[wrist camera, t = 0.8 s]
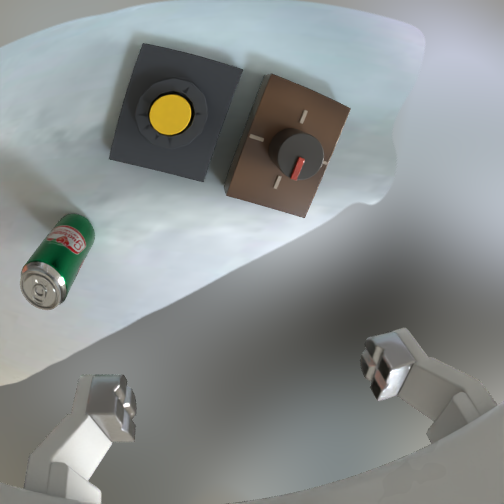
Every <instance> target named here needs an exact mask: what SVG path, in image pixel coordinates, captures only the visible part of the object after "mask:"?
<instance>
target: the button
mask: <svg viewBox="0 0 504 504" xmlns="http://www.w3.org/2000/svg"><path fill="white" fill-rule="evenodd" d="M149 117H150V122H151V124H152V126H153V128H154V129H155V130H156V131H158V132H160V133H162V134H165V135H173V134H177V133H179V132H181V131H182V130H183V129H185V128H186V126H187V125H188V123H189V121H190V118H191V107H190V105H189V103H188V102H187V100H186V99H185V98H183V97H181V96H179V95H174V94H171V95H165V96H162V97H160V98H159V99H158V100H156V101H155V102H154V104H153V105H152V107H151V109H150V115H149Z"/></svg>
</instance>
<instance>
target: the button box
mask: <svg viewBox="0 0 504 504" xmlns="http://www.w3.org/2000/svg"><path fill="white" fill-rule="evenodd" d="M242 71H243V69H240V68H237V67H233V66H230V65H227V64H224V63H221V62H217V61H214V60H211V59H207V58H203V57H200V56H196V55H192V54H189V53H185V52H181V51H177V50H172V49H168V48H164V47H159V46H154V45H149V44H144V43H143V44H142V47H141V50H140V53H139V55H138V58H137V61H136V64H135V67H134V70H133V73H132V76H131V79H130V82H129V85H128V89H127V92H126V95H125V98H124V102H123V105H122V109H121V113H120V116H119V120H118V124H117V128H116V132H115V136H114V140H113V144H112V148H111V153H110V157H109V159H110V160H115V161H119V162H123V163H128V164H132V165H136V166H141V167H145V168H149V169H153V170H157V171H161V172H165V173H169V174H173V175H177V176H181V177H185V178H189V179H193V180H197V181H201V182H204V179H205V176H206V173H207V170H208V167H209V163H210V160H211V157H212V154H213V151H214V149H215V146H216V143H217V140H218V137H219V134H220V131H221V128H222V125H223V123H224V120H225V117H226V114H227V111H228V109H229V106H230V103H231V100H232V98H233V95H234V92H235V90H236V87H237V84H238V82H239V79H240V77H241V74H242ZM171 94H174V95H179V96H181V97H183V98H185V99H186V100H187V102H188V103H189V105H190V107H191V118H190V121H189V123H188V125H187V126H186V128H185V129H183V130H182V131H181V132H179V133H177V134H173V135H165V134H162V133H160V132H158V131H156V130H155V129H154V128H153V126H152V124H151V122H150V117H149V115H150V109H151V107H152V105H153V104H154V102H155V101H156V100H158V99H159V98H160V97H162V96H165V95H171Z"/></svg>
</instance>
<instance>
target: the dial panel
mask: <svg viewBox="0 0 504 504" xmlns="http://www.w3.org/2000/svg"><path fill="white" fill-rule="evenodd" d="M350 110H351V108H349V107H347V106H345V105H343V104H341V103H339V102H337V101H335V100H332V99H330V98H328V97H326V96H324V95H322V94H319V93H317V92H315V91H313V90H310V89H308V88H306V87H304V86H301V85H299V84H296V83H294V82H292V81H289V80H287V79H284V78H282V77H279V76H276V75H274V74H267V75H264V78H263V81H262V83H261V86H260V88H259V91H258V93H257V96H256V99H255V101H254V104H253V106H252V109H251V112H250V114H249V117H248V120H247V123H246V125H245V128H244V131H243V133H242V136H241V139H240V142H239V144H238V147H237V150H236V153H235V156H234V158H233V161H232V164H231V167H230V170H229V173H228V175H227V178H226V181H225V184H224V189H225V193H226V196H230V197H233V198H237V199H241V200H244V201H248V202H251V203H255V204H258V205H262V206H265V207H269V208H272V209H276V210H279V211H282V212H286V213H289V214H293V215H296V216H299V217H303V218H305V216H306V214H307V212H308V209H309V207H310V205H311V203H312V200H313V198H314V196H315V193H316V191H317V189H318V186H319V184H320V182H321V179H322V177H323V175H324V172H325V170H326V168H327V165H328V163H329V161H330V158H331V156H332V153H333V151H334V149H335V146H336V144H337V141H338V139H339V137H340V134H341V132H342V129H343V127H344V124H345V122H346V120H347V117H348V115H349V112H350ZM287 128H295V129H298V130H301V131H303V132H305V133H308V134H310V135H312V136H314V137H315V138H316V139H317V140H318V141H319V142H320V143H321V145H322V147H323V151H324V160H323V164H322V166H321V168H320V170H319V171H318V172H317V173H316V174H315V175H314V176H312V177H310V178H308V179H305V180H293V179H291V178H289V177H287V176H286V175H284V174H283V173H282V171H281V170H280V169H279V168H278V167H277V166H276V165H275V164H274V163H273V162H272V160H271V158H270V155H269V145H270V142H271V140H272V138H273V137H274V136H275V135H276V134H277V133H278V132H279V131H281V130H284V129H287Z"/></svg>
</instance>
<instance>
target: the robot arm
mask: <svg viewBox="0 0 504 504" xmlns="http://www.w3.org/2000/svg"><path fill="white" fill-rule="evenodd" d="M365 347H366V350H365V351H364V352H363V353H362V356H361V360H360V362H361V369H362V372H363V375H364V377H365V378H366V379H368V380H369V381H371V386H370V388H371V390H372V392H373V394H374V396H375V398H376V399H377V401H381V400H384V399H387V398H390V397H393V396H396V395H398V397H400V398H401V399H402V400H404V401H405V402H407V403H408V404H410V405H411V406H412V407H414V408H415V409H417V410H418V411H420V412H421V413H422V414H424V415H425V416H427V417H428V418H430V419H431V420H433V421H434V423H433V424H432V425H431V427H430V428H429V429H428V431H427V433H426V434H427V436H428V438H429V440H430V442H431V444H430V445H428V446H426V447H424V448H422V449H419V450H417V451H416V452H413V453H411V454H409V455H406V456H404V457H402V458H399V459H398V460H395V461H392V462H390V463H388V464H385V465H382V466H380V467H377V468H375V469H372V470H369V471H366V472H364V473H361V474H358V475H355V476H352V477H349V478H346V479H343V480H339V481H336V482H332V483H329V484H326V485H322V486H319V487H314V488H311V489H307V490H303V491H298V492H294V493H289V494H285V495H280V496H274V497H269V498H263V499H258V500H252V501H244V502H236V503H228V504H504V401H503V402H501V403H500V404H498V405H497V403H496V402H495V401H494V399H493V398H492V396H491V395H490V393H489V392H488V391H487V389H486V388H485V386H484V385H483V383H482V382H481V381H480V380H478V379H476V378H474V377H472V376H470V375H468V374H466V373H463V372H462V371H460V370H457V369H455V368H453V367H451V366H449V365H447V364H445V363H443V362H441V361H439V360H437V359H435V358H433V357H430V358H428V356H427V355H426V354H425V352H424V351H423V350H422V348H421V347H420V345H419V344H418V343H417V341H416V340H415V339H414V337H413V336H412V335H411V333H410V332H409V330H408V329H406V328H401V329H398V330H394V331H390V332H386V333H383V334H379V335H376V336H372V337H368V339H367V340H366V342H365ZM135 415H136V399H135V395H134V393H133V391H132V389H131V388H129V387H128V386H127V379H126V378H125V376H124V375H81V377H80V378H79V381H78V385H77V389H76V393H75V398H74V403H73V407H72V412H71V414H67V415H66V416H65V417H64V418H63V420H62V421H61V422H60V423H59V424H58V425H57V426H56V427H55V428H54V429H53V431H51V433H50V434H49V435H48V436H47V437H46V438H45V439H44V440H43V441H42V443H41V444H40V445H39V446H38V447H37V448H36V449H35V450H34V451H33V452H32V453H31V455H30V456H29V460H28V465H27V471H26V477H25V483H24V489H22V488H19V487H15V486H12V485H8V484H5V483H2V482H0V504H101V491H100V490H99V489H98V488H97V487H96V486H94V485H93V484H91V483H90V482H89V481H88V480H89V478H90V477H91V475H92V474H93V472H94V471H95V469H96V468H97V466H98V464H99V463H100V461H101V460H102V458H103V457H104V455H105V454H106V452H107V451H108V449H109V448H110V446H111V445H112V442H135V427H136V426H135V424H134V422H133V421H132V419H133V418H134V416H135Z"/></svg>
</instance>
